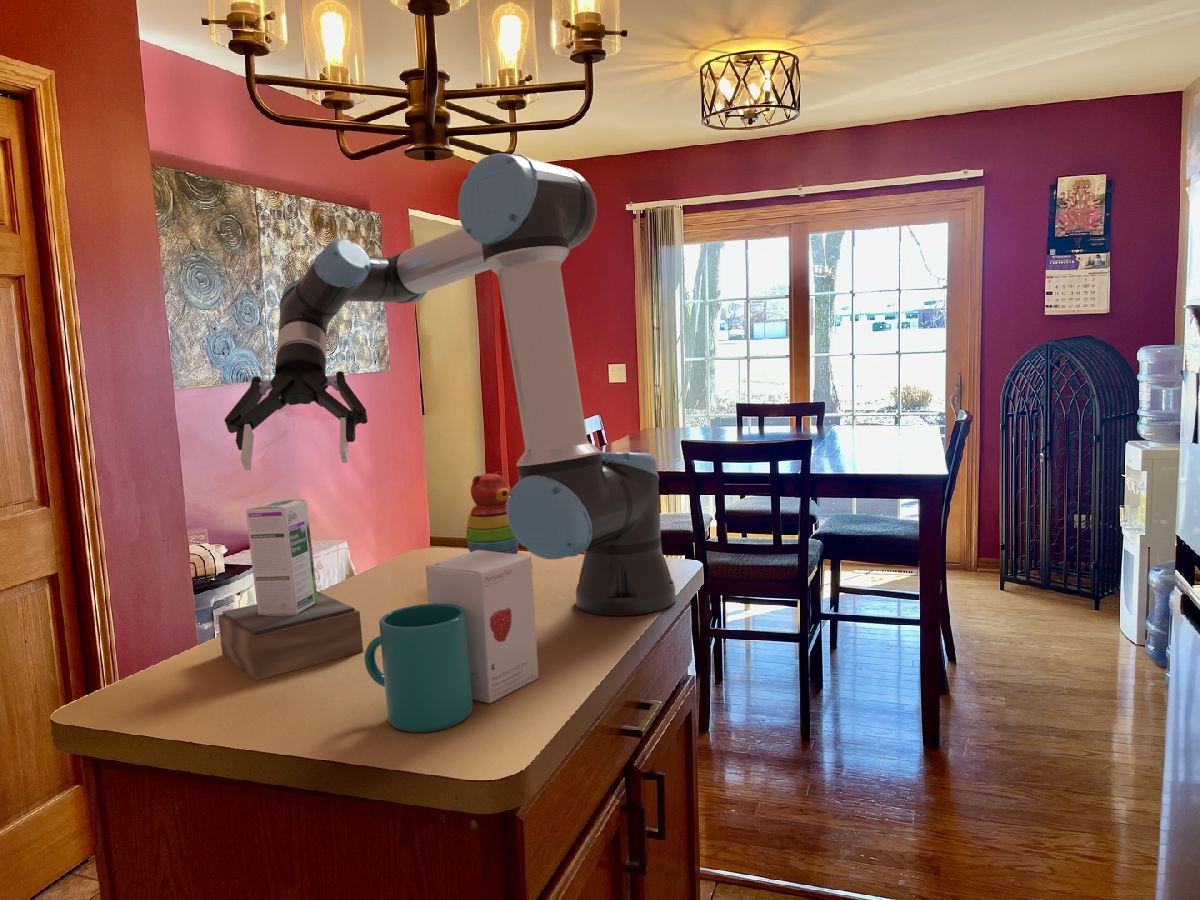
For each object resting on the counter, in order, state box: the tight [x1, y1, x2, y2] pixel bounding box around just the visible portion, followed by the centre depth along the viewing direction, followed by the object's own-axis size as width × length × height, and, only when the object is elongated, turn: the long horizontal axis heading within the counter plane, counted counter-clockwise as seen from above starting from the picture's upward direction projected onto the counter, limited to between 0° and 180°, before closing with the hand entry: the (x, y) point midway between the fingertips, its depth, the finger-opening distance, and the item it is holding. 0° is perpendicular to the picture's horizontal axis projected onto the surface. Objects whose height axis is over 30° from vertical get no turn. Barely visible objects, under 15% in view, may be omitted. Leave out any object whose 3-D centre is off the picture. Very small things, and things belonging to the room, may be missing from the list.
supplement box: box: [425, 550, 539, 704], centre depth 101 cm, size 9×9×15 cm
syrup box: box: [245, 499, 318, 616], centre depth 116 cm, size 6×6×14 cm
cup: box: [364, 603, 474, 733], centre depth 94 cm, size 9×12×11 cm
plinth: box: [217, 591, 364, 681], centre depth 117 cm, size 14×14×6 cm
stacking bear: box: [465, 471, 520, 554], centre depth 156 cm, size 11×10×18 cm
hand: (295, 461), depth 126 cm, fingers open, 13 cm apart
